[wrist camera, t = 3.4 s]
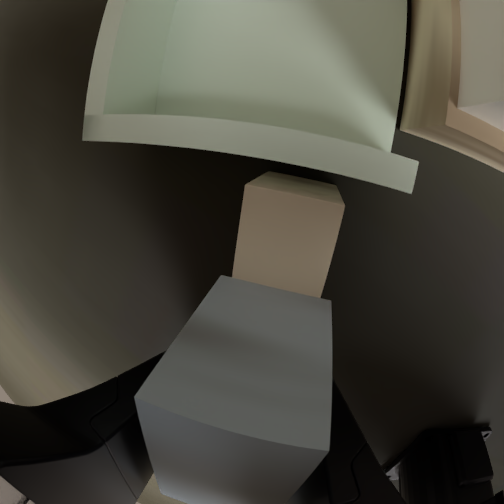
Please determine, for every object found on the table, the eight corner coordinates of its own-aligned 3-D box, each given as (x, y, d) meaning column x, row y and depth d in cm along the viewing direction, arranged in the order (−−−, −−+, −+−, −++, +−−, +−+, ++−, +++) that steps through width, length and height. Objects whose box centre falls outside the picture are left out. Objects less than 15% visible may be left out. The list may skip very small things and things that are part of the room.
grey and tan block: (286, 389, 14) (251, 535, 6) (228, 374, 14) (168, 512, 7) (344, 187, 10) (411, 313, 2) (260, 169, 10) (116, 245, 3)
